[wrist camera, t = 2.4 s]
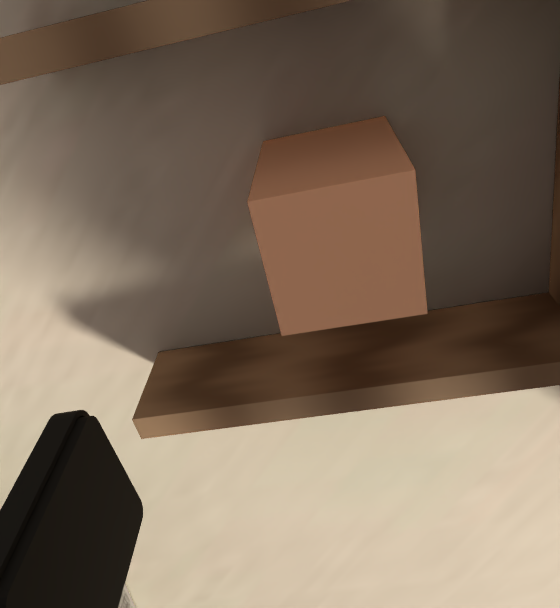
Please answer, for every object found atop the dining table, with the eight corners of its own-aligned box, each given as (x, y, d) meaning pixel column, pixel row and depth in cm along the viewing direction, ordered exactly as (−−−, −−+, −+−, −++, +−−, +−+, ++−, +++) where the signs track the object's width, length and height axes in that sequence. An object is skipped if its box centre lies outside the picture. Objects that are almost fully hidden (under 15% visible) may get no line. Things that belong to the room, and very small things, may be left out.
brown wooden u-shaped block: (607, -113, 17) (706, -142, 13) (573, 309, 26) (627, 376, 21) (29, 33, 20) (-45, 49, 16) (165, 369, 29) (141, 438, 24)
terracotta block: (384, 115, 21) (415, 169, 15) (397, 229, 24) (427, 313, 18) (263, 140, 22) (247, 201, 16) (287, 248, 25) (281, 336, 19)
